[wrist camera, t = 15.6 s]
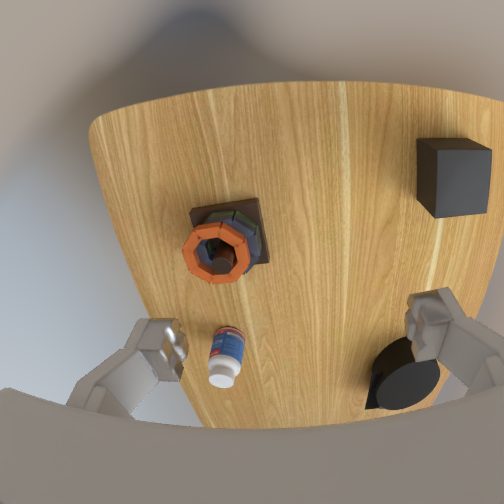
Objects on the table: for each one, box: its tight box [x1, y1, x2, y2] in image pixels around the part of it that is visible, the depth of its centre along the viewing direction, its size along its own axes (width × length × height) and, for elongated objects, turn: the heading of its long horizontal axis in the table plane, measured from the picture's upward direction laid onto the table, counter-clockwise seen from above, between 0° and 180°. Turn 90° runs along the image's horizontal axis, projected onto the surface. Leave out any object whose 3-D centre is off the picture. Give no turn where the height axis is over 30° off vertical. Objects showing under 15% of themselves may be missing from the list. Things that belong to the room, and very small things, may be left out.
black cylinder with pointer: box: [365, 337, 440, 410], centre depth 52 cm, size 14×18×8 cm
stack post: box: [189, 198, 270, 275], centre depth 39 cm, size 9×9×8 cm
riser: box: [417, 138, 492, 218], centre depth 31 cm, size 8×8×6 cm
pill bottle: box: [208, 327, 245, 388], centre depth 49 cm, size 6×5×10 cm
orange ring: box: [182, 222, 251, 284], centre depth 38 cm, size 8×8×1 cm
